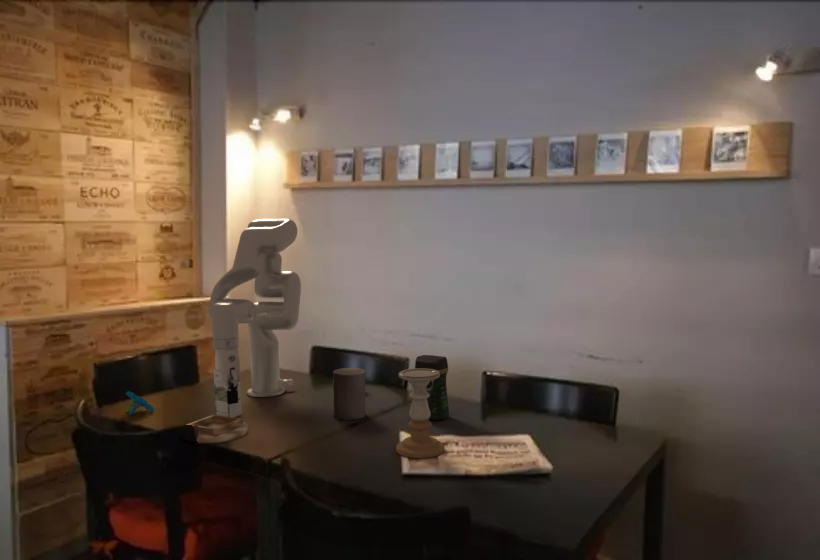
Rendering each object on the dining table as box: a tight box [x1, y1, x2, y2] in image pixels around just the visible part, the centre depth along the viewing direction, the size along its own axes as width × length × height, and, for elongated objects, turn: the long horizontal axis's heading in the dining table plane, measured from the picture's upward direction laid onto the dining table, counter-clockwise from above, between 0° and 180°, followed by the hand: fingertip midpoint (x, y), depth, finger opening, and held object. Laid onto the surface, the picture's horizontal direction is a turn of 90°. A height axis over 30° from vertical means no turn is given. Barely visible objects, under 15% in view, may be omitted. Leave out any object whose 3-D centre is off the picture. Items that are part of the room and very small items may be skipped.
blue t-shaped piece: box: [125, 390, 155, 416], centre depth 214 cm, size 11×6×10 cm
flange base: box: [185, 414, 249, 444], centre depth 192 cm, size 18×18×4 cm
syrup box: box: [213, 369, 242, 418], centre depth 209 cm, size 6×6×14 cm
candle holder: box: [395, 368, 445, 459], centre depth 174 cm, size 12×12×20 cm
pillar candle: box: [332, 366, 367, 421], centre depth 207 cm, size 10×10×15 cm
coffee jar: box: [414, 354, 450, 421], centre depth 204 cm, size 10×8×19 cm
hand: (227, 400), depth 209 cm, fingers closed on syrup box, 7 cm apart
